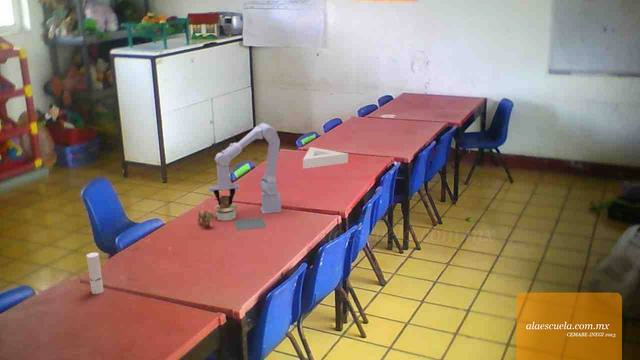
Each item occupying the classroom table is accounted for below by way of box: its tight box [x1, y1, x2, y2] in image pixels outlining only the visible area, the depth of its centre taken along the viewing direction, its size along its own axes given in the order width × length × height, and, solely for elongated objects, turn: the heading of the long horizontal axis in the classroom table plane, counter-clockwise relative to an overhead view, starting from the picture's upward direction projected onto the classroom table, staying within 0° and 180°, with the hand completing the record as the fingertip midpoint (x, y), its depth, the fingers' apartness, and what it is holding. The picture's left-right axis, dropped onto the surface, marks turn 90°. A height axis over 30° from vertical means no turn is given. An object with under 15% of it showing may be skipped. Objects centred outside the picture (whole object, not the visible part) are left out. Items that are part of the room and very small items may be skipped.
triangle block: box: [302, 146, 349, 170], centre depth 406 cm, size 30×26×6 cm
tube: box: [86, 252, 104, 295], centre depth 244 cm, size 4×4×15 cm
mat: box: [233, 216, 268, 232], centre depth 308 cm, size 14×14×1 cm
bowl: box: [215, 209, 237, 222], centre depth 317 cm, size 9×9×4 cm
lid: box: [213, 195, 238, 212], centre depth 315 cm, size 11×11×6 cm
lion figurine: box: [197, 209, 216, 230], centre depth 307 cm, size 15×5×9 cm, turn 38°
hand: (225, 204), depth 315 cm, fingers closed on lid, 5 cm apart
